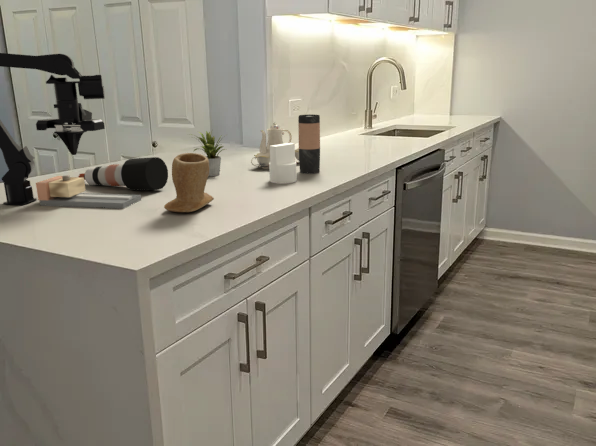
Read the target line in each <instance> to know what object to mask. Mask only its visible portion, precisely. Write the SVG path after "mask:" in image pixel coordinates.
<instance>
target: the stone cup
mask: <svg viewBox="0 0 596 446" xmlns="http://www.w3.org/2000/svg"><path fill="white" fill-rule="evenodd" d="M206 156H207V155H205V154H202V153H196V152H195V153H194V152H187V153H186V152H185V153H180V154H177V156H175V157H174V158H173V161H172V164H171V176H172V177H171V178H172V183H173V185H174V189H175V193H176V198H174V199H173V200H170V201H169V202H166V204H165V205H164V206H163V208H164V210H167V211H169V212H174V213H192V212H195V211H197V210H199V209H202V208H204V207H205V206H206V205H209V203H211V202H212V201H213V200H214V199H215V198H214V196H212V195H210V194H209V193H207V192H205V189H206V184H207V182H208V177H209V176H208V175H209V160H208V158H207V157H206Z"/></svg>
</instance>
